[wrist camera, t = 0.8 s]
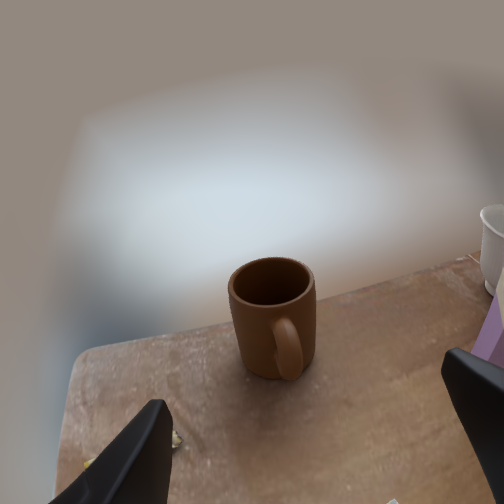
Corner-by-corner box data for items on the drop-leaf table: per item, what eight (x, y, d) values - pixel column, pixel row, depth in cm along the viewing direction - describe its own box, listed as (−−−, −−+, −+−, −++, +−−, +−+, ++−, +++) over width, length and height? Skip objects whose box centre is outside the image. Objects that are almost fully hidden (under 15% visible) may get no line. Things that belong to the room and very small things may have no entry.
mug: (337, 408, 25) (348, 337, 20) (252, 427, 24) (234, 360, 19) (304, 322, 35) (302, 249, 30) (237, 334, 34) (223, 263, 30)
